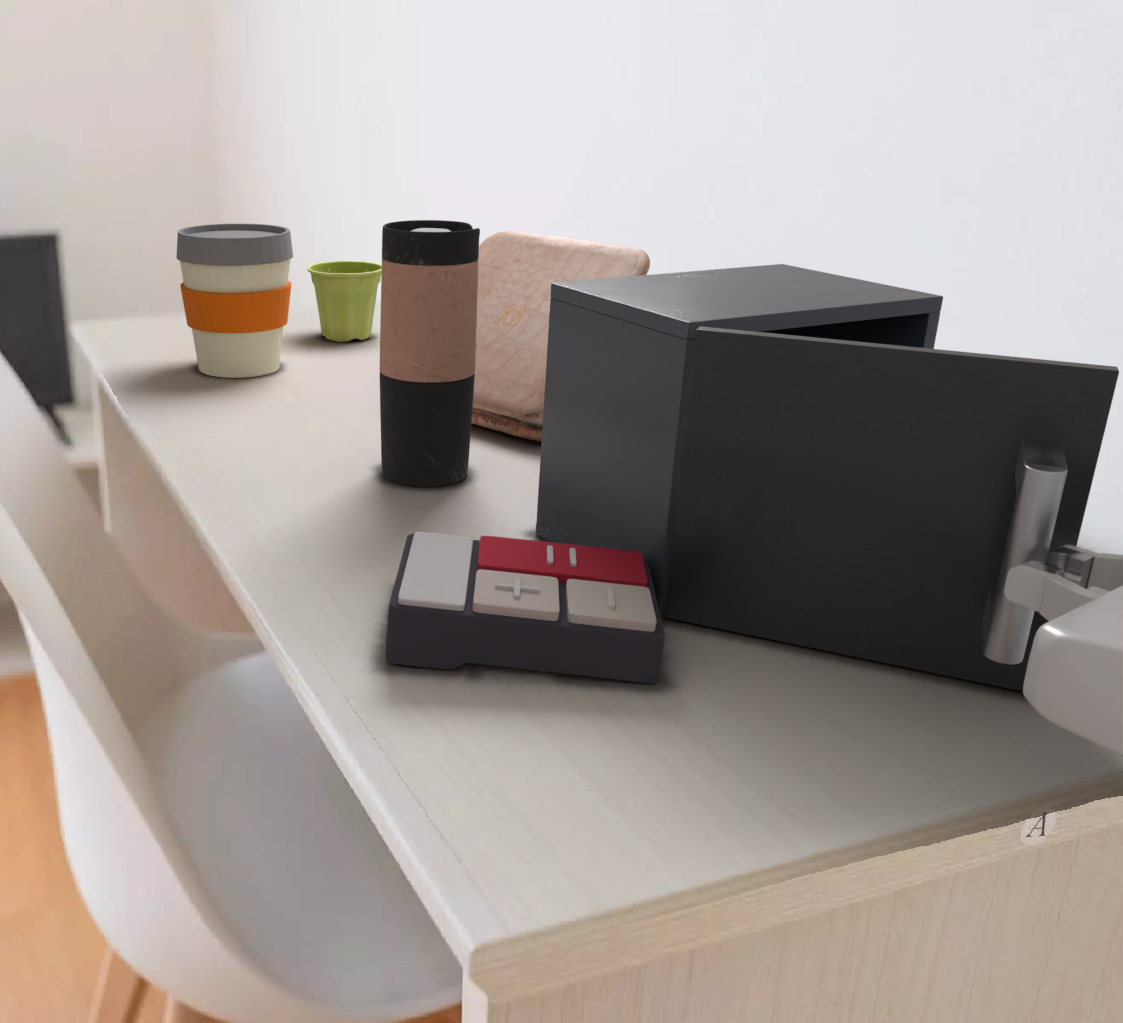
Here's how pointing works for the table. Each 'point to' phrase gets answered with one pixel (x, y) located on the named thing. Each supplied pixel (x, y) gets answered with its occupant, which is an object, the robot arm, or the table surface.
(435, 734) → the table surface
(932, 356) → the dark grey door
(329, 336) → the plant pot
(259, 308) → the reusable coffee cup
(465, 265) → the travel mug
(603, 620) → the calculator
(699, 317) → the dark grey cabinet
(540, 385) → the case
